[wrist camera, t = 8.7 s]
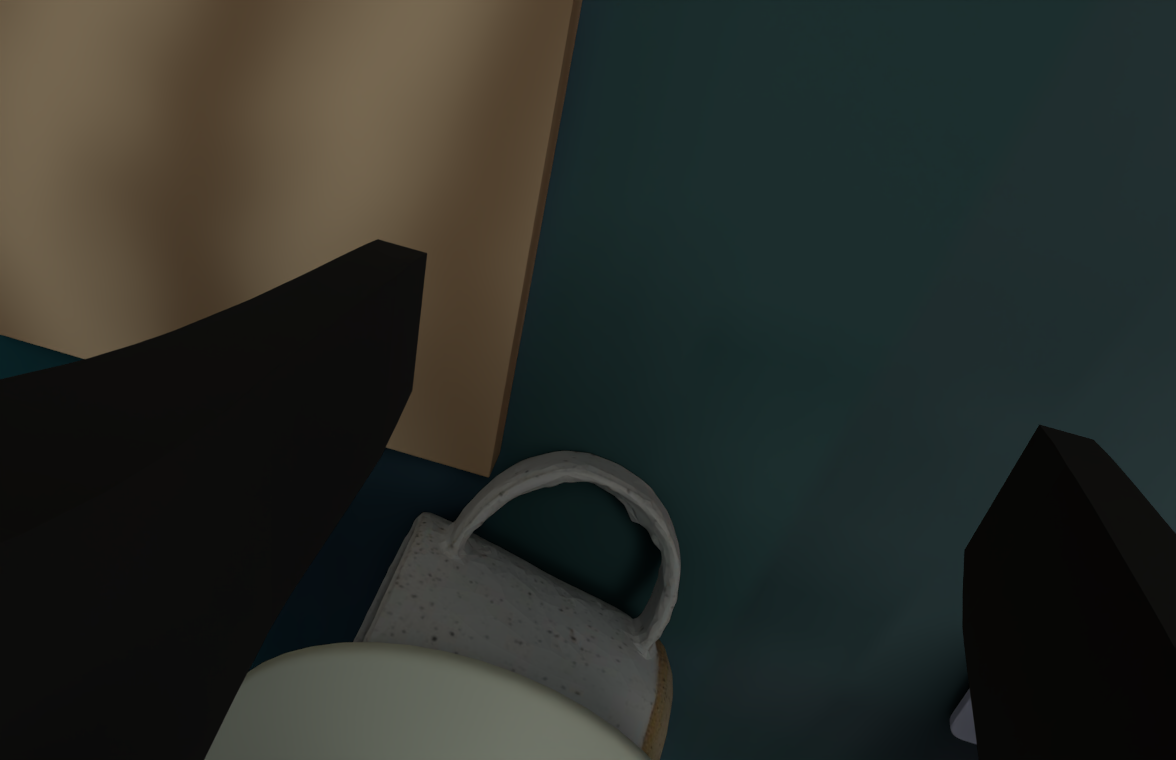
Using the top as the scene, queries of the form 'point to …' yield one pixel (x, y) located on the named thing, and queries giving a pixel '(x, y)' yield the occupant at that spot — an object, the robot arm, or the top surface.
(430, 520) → the ceramic mug
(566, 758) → the lid
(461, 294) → the trivet
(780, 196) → the top surface
